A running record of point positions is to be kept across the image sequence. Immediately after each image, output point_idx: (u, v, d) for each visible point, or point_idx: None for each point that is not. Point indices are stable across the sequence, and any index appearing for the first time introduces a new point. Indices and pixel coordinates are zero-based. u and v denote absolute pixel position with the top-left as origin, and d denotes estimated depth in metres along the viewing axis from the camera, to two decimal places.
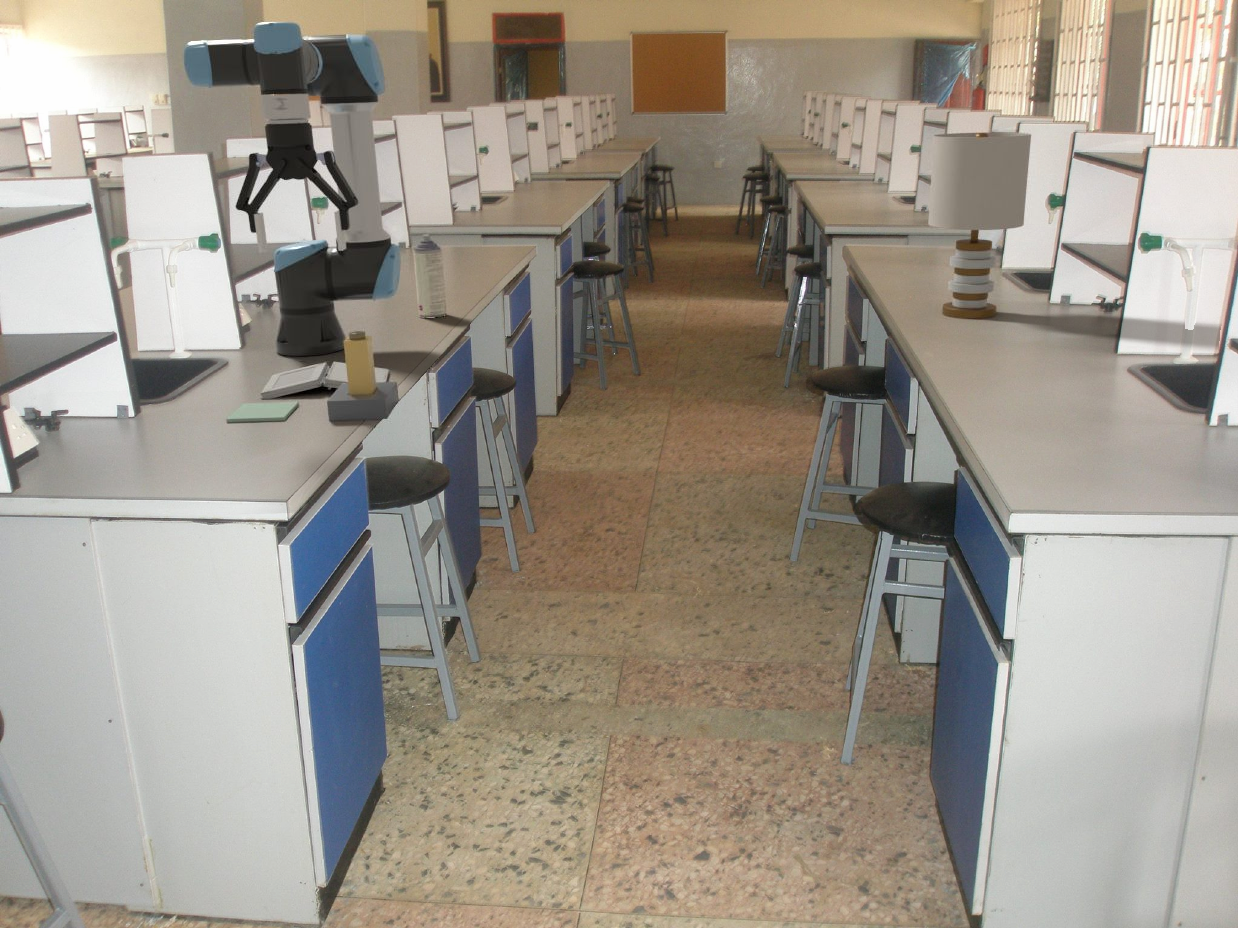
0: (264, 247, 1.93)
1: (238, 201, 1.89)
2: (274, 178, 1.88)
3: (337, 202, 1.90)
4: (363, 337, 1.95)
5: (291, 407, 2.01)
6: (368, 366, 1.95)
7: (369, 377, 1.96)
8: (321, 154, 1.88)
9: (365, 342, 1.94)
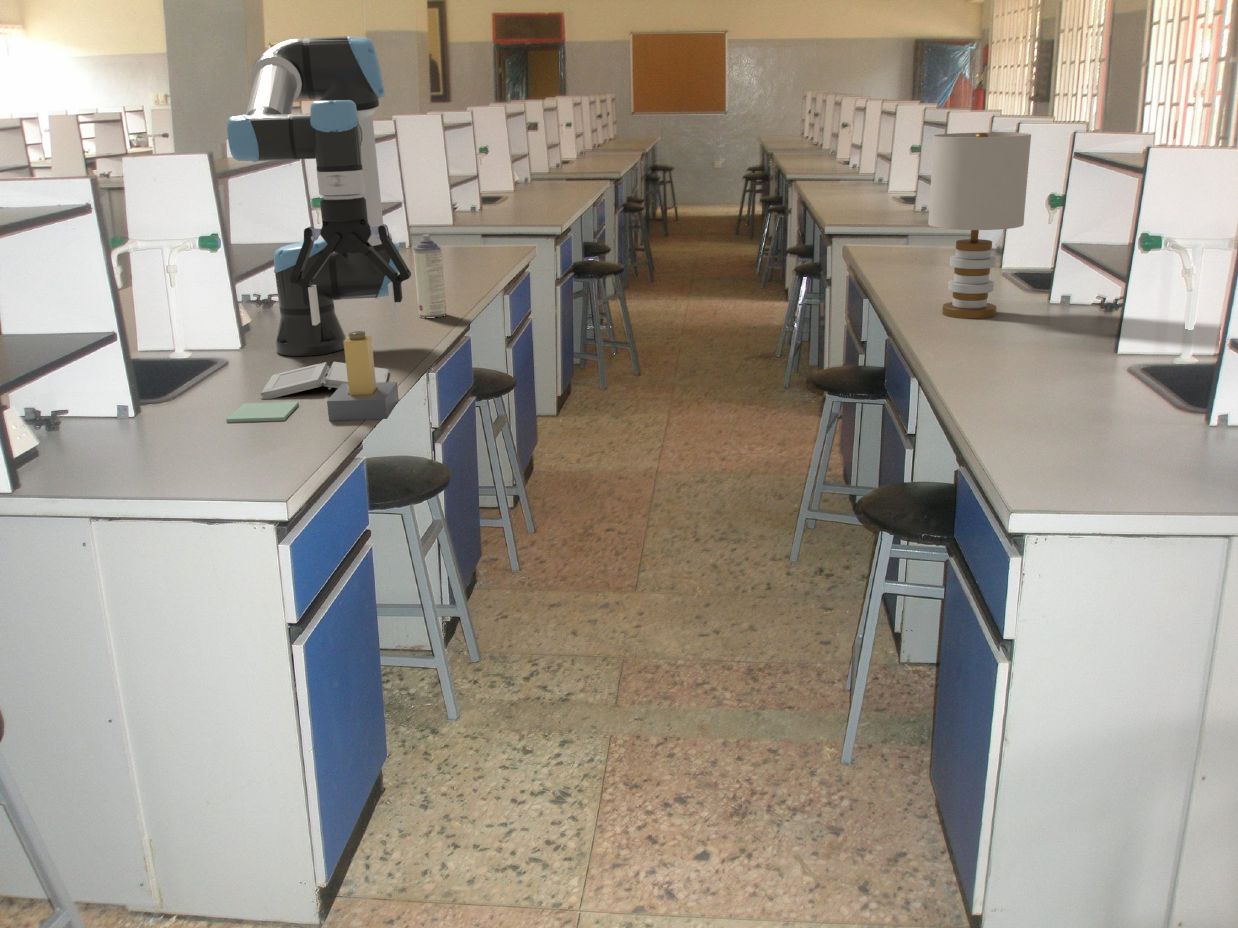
0: (317, 319, 1.94)
1: (292, 274, 1.91)
2: (329, 252, 1.89)
3: (391, 275, 1.91)
4: (363, 337, 1.95)
5: (291, 407, 2.01)
6: (368, 366, 1.95)
7: (369, 377, 1.96)
8: (375, 228, 1.89)
9: (365, 342, 1.94)
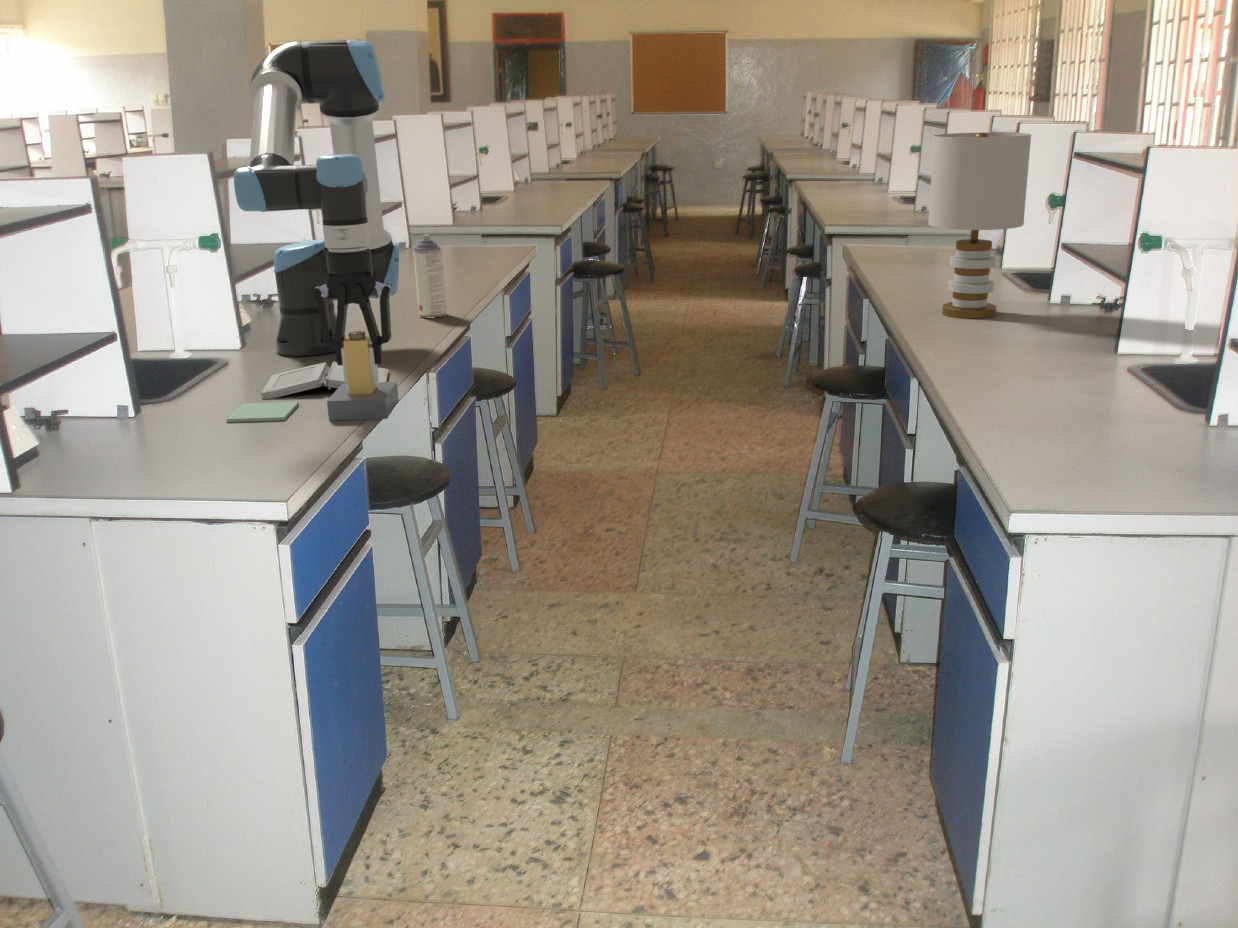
0: None
1: (323, 337, 1.94)
2: (343, 305, 1.92)
3: (374, 337, 1.95)
4: (363, 337, 1.95)
5: (291, 407, 2.01)
6: (368, 366, 1.95)
7: (369, 377, 1.96)
8: (381, 285, 1.92)
9: (365, 342, 1.94)
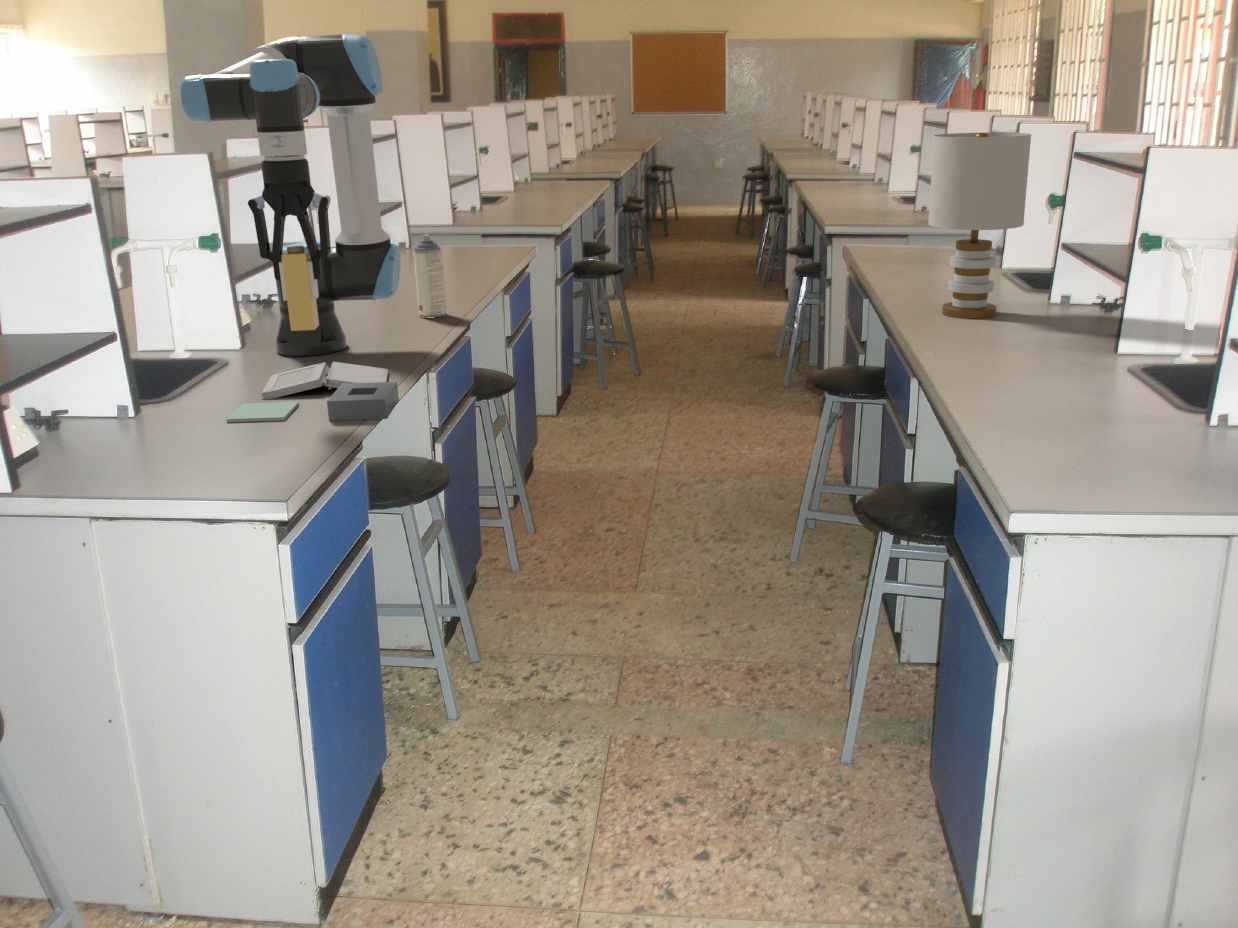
0: None
1: (260, 250, 1.89)
2: (280, 217, 1.87)
3: (312, 250, 1.90)
4: (302, 251, 1.90)
5: (291, 407, 2.01)
6: (307, 281, 1.91)
7: (308, 292, 1.91)
8: (319, 196, 1.88)
9: (304, 255, 1.89)
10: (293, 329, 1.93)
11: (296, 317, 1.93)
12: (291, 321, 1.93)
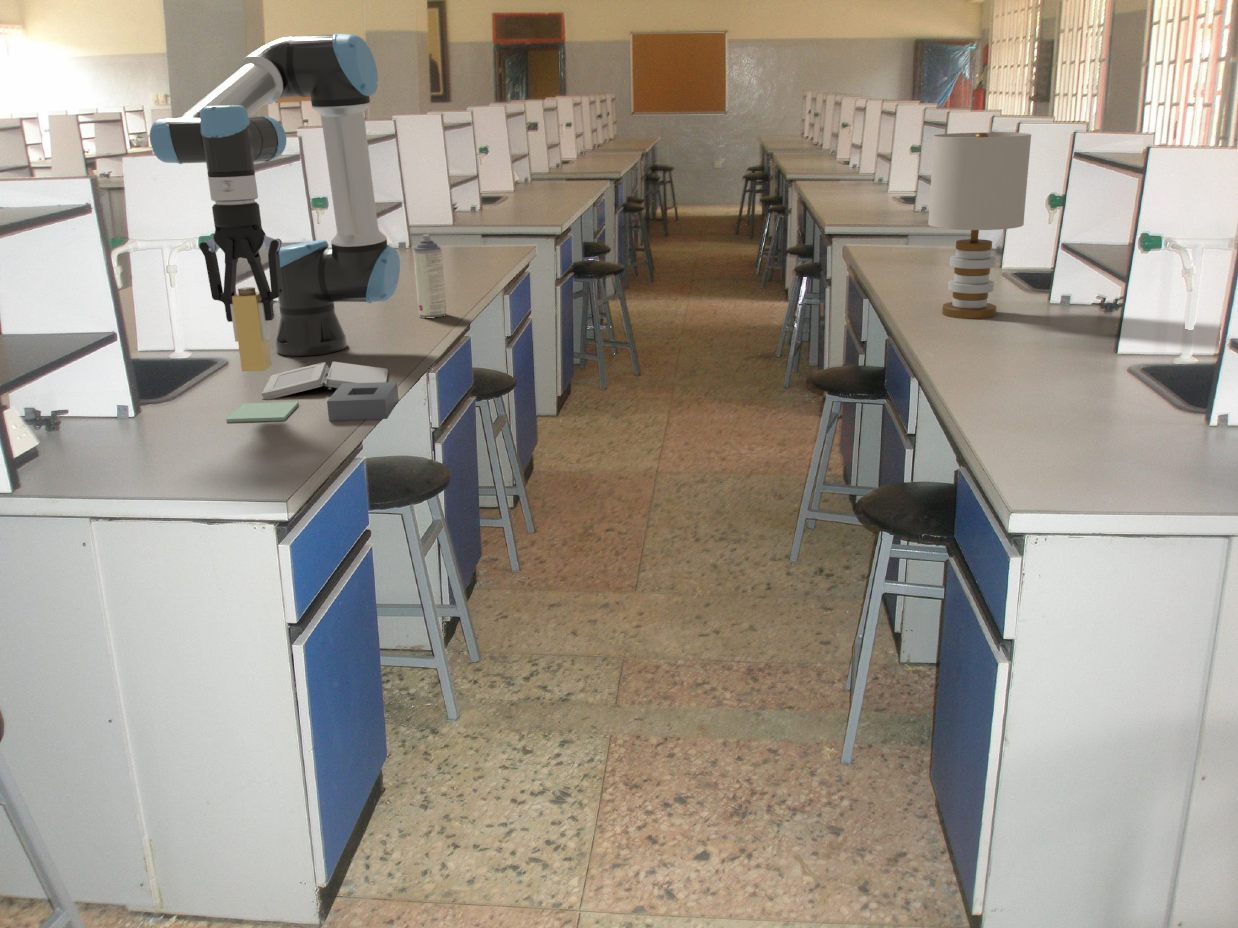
0: None
1: (212, 292, 1.91)
2: (231, 260, 1.89)
3: (263, 292, 1.92)
4: (252, 293, 1.92)
5: (291, 407, 2.01)
6: (258, 322, 1.92)
7: (259, 333, 1.93)
8: (269, 239, 1.90)
9: (254, 297, 1.91)
10: (244, 369, 1.95)
11: (247, 358, 1.94)
12: (242, 362, 1.95)
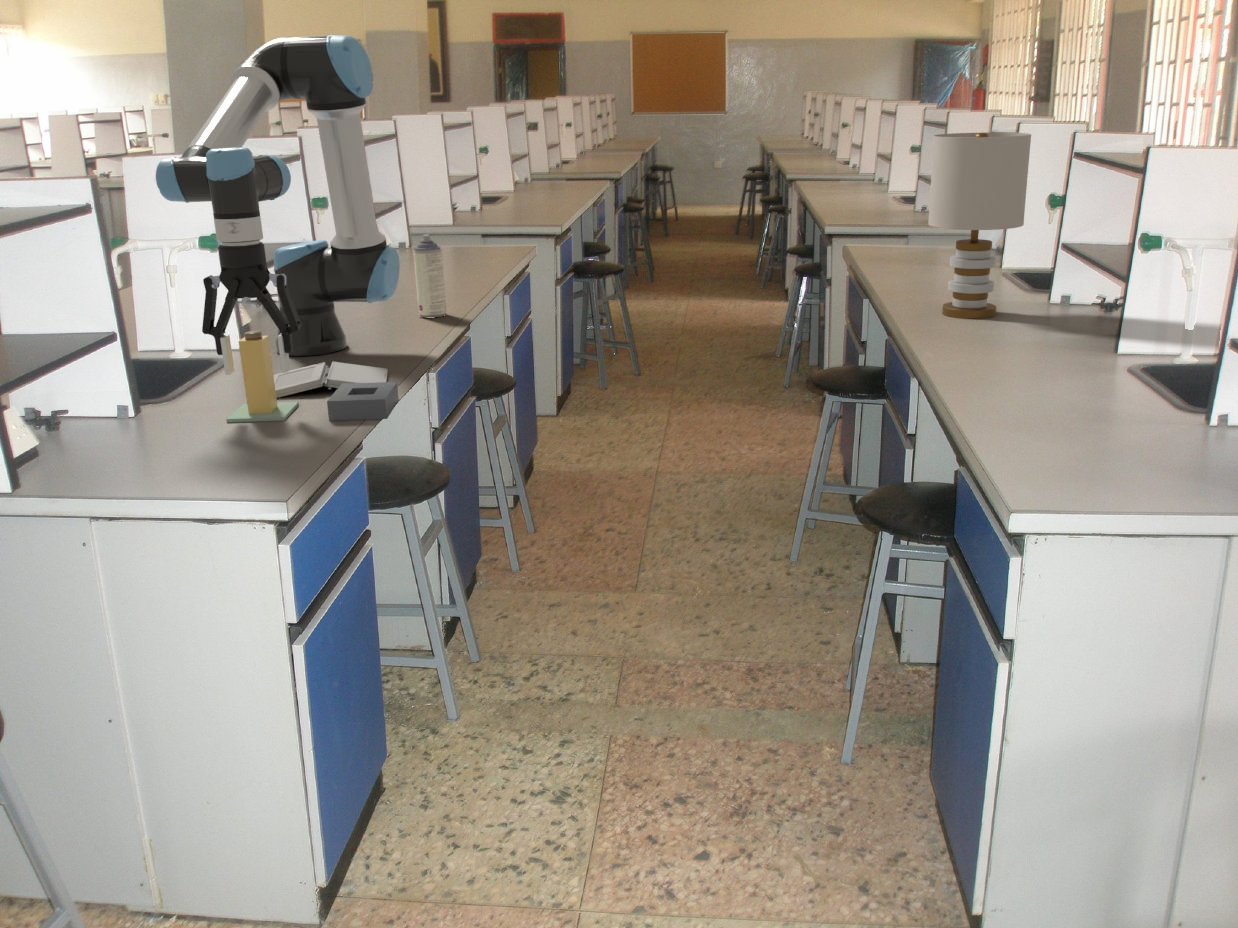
0: (231, 368, 1.97)
1: (203, 325, 1.93)
2: (231, 299, 1.91)
3: (281, 326, 1.94)
4: (259, 337, 1.95)
5: (291, 407, 2.01)
6: (264, 366, 1.95)
7: (265, 377, 1.96)
8: (274, 276, 1.92)
9: (260, 342, 1.94)
10: (251, 412, 1.98)
11: (253, 401, 1.97)
12: (249, 404, 1.97)
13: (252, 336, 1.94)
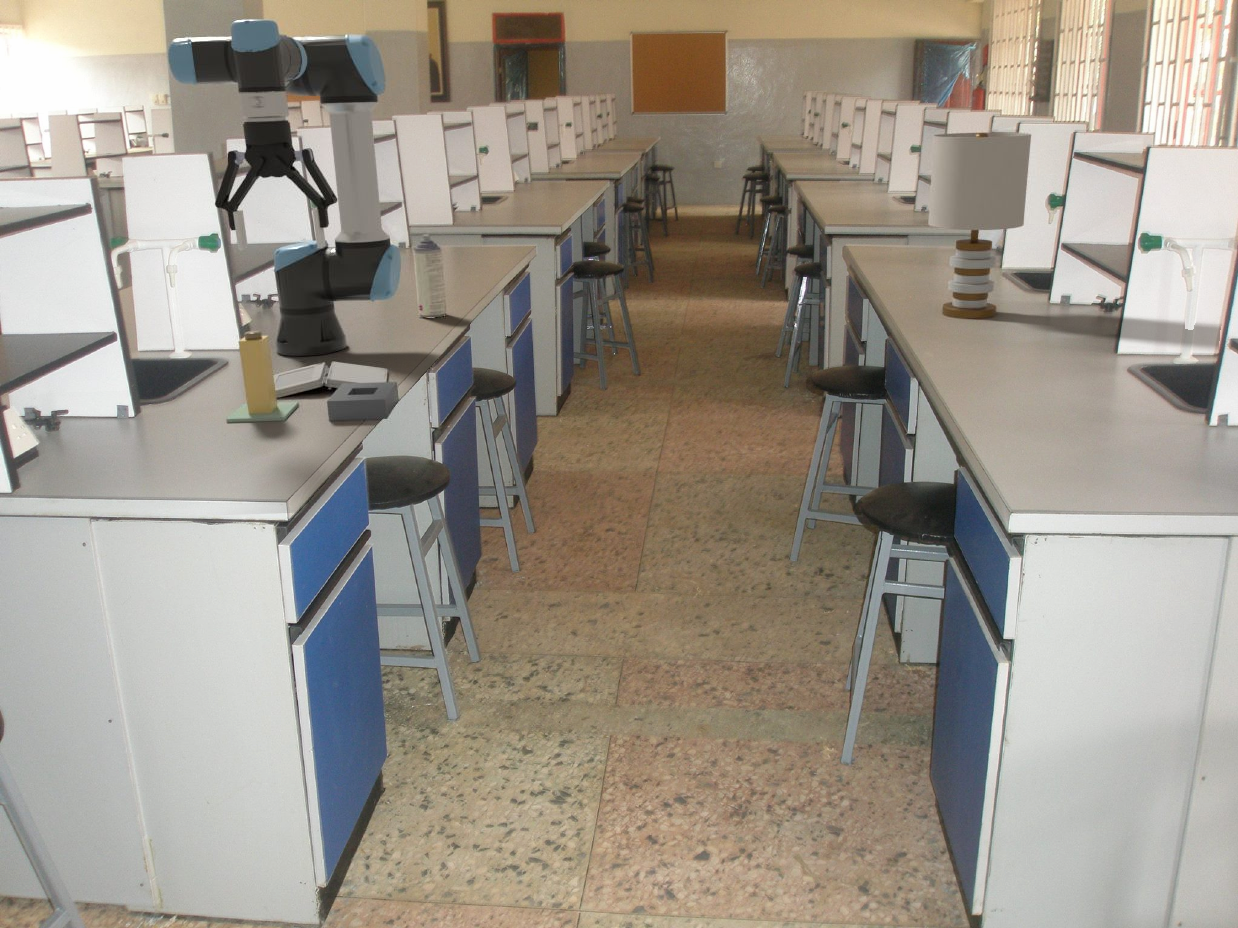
0: (244, 245, 1.93)
1: (217, 199, 1.90)
2: (253, 176, 1.88)
3: (315, 200, 1.90)
4: (259, 337, 1.95)
5: (291, 407, 2.01)
6: (264, 366, 1.95)
7: (265, 377, 1.96)
8: (299, 152, 1.88)
9: (260, 342, 1.94)
10: (251, 412, 1.98)
11: (253, 401, 1.97)
12: (249, 404, 1.97)
13: (252, 336, 1.94)
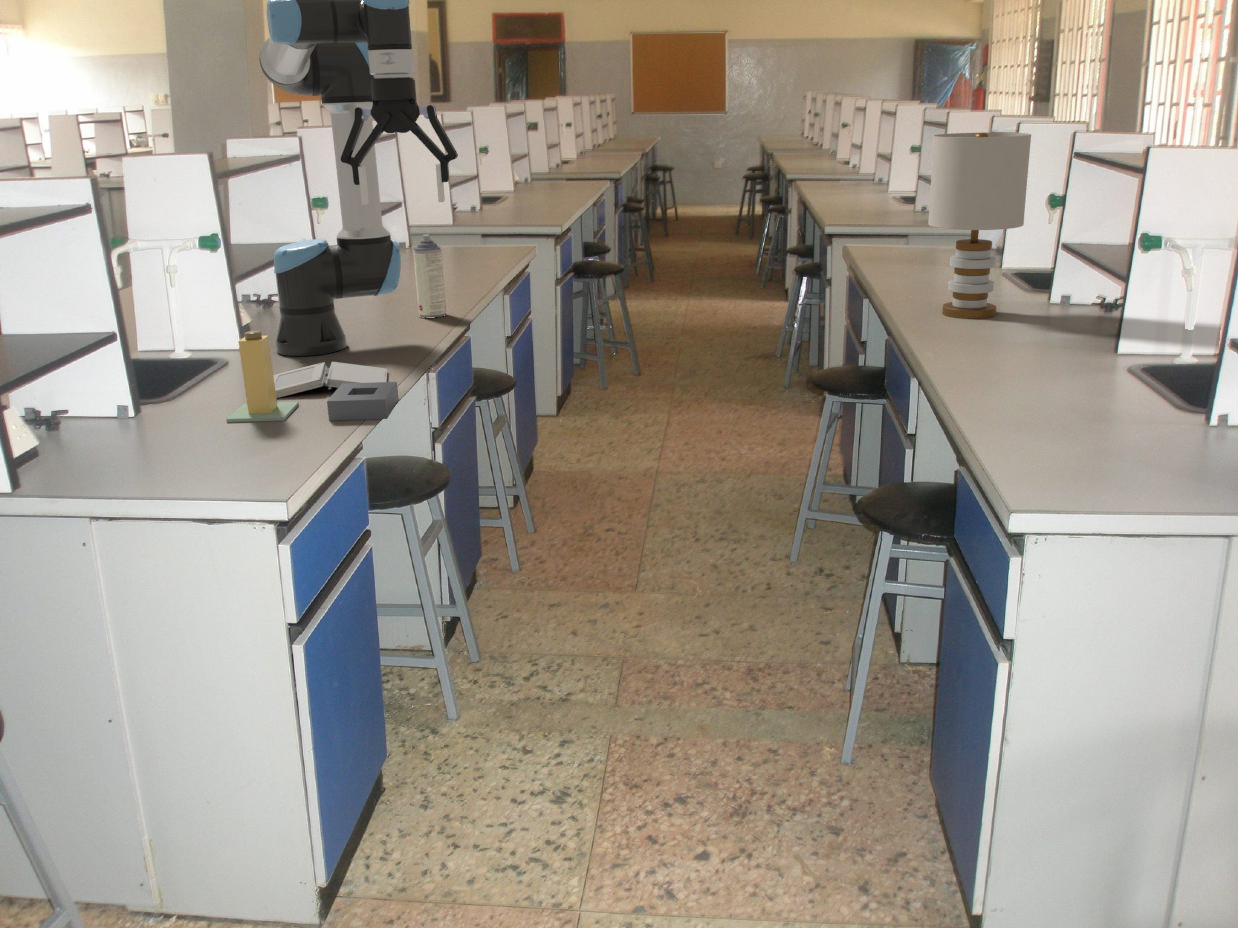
0: (366, 199, 2.00)
1: (343, 154, 1.96)
2: (379, 131, 1.95)
3: (438, 155, 1.97)
4: (259, 337, 1.95)
5: (291, 407, 2.01)
6: (264, 366, 1.95)
7: (265, 377, 1.96)
8: (424, 108, 1.95)
9: (260, 342, 1.94)
10: (251, 412, 1.98)
11: (253, 401, 1.97)
12: (249, 404, 1.97)
13: (252, 336, 1.94)
